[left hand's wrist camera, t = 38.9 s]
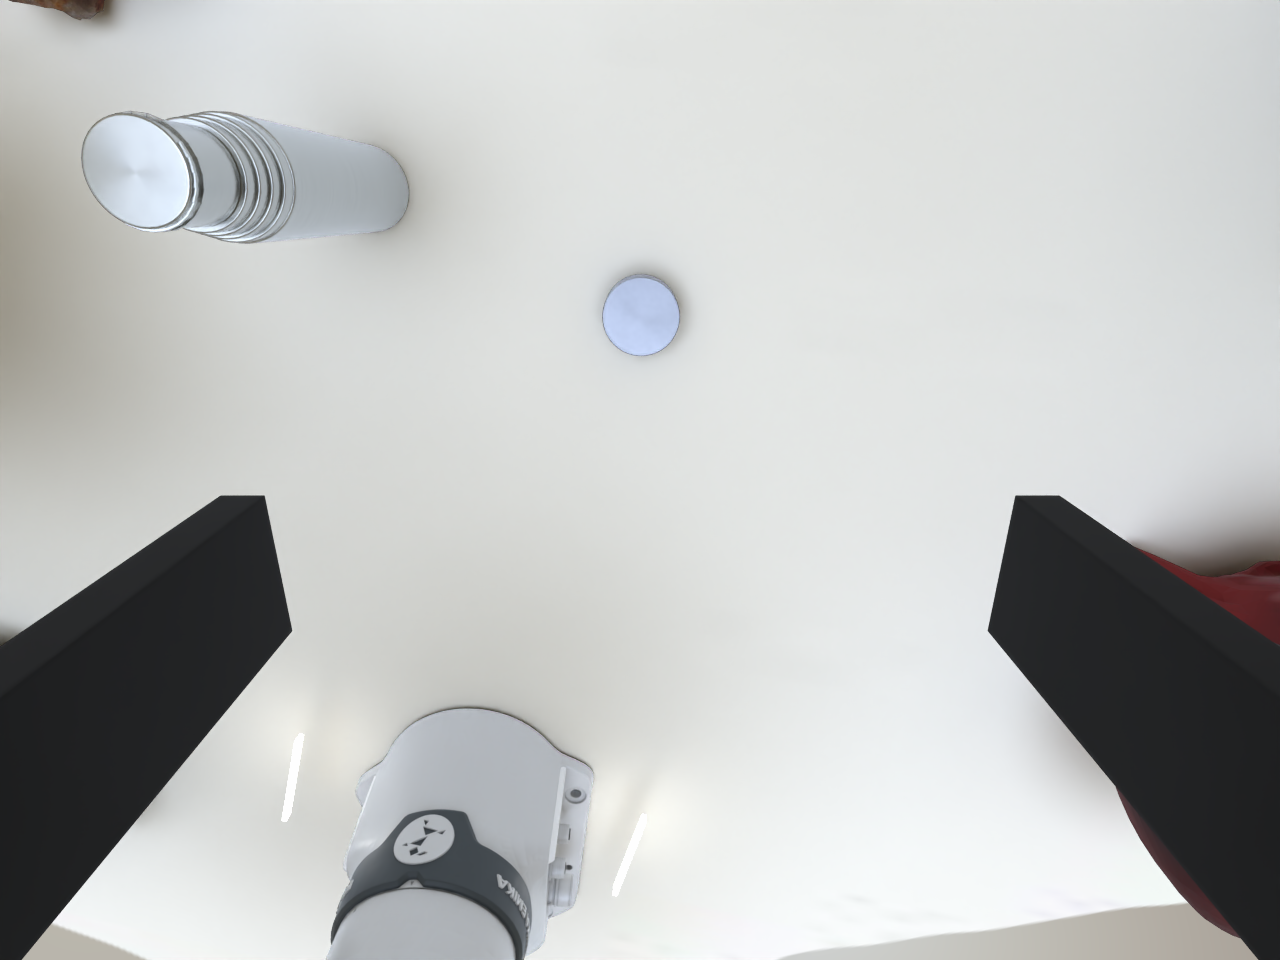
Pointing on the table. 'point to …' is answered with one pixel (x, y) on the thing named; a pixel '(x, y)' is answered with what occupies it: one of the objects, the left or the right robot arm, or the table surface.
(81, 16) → the rock
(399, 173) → the bottle
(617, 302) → the cap
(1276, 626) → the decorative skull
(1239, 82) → the table surface
